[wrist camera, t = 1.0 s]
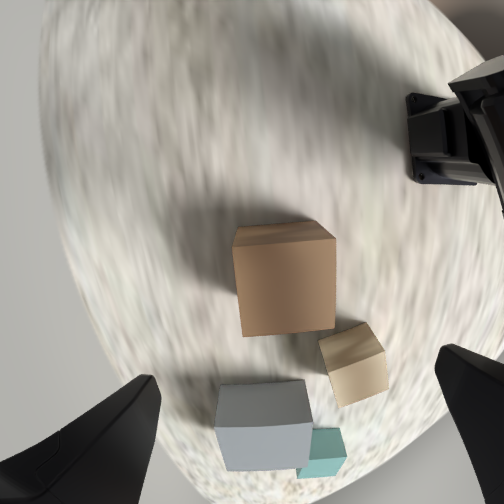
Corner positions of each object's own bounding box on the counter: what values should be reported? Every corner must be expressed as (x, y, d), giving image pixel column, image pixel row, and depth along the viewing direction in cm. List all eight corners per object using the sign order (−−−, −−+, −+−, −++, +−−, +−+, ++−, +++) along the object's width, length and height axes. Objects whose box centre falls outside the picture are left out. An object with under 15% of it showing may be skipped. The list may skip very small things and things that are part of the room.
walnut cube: (315, 220, 18) (336, 238, 13) (317, 291, 20) (334, 328, 15) (238, 226, 18) (231, 247, 14) (245, 297, 20) (242, 337, 15)
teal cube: (339, 427, 24) (347, 456, 20) (329, 448, 25) (335, 475, 21) (301, 429, 24) (305, 460, 20) (293, 449, 25) (297, 478, 21)
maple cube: (366, 321, 20) (384, 351, 16) (372, 358, 21) (388, 389, 17) (317, 339, 21) (328, 372, 17) (328, 375, 22) (338, 408, 18)
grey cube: (304, 378, 22) (313, 422, 17) (301, 427, 24) (307, 467, 19) (220, 383, 22) (213, 427, 17) (230, 431, 24) (227, 471, 19)
